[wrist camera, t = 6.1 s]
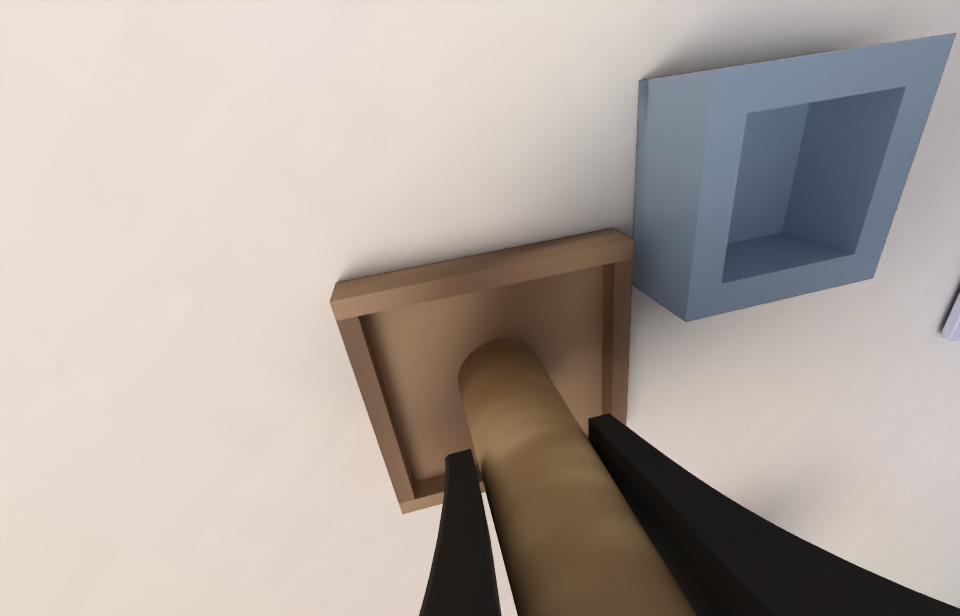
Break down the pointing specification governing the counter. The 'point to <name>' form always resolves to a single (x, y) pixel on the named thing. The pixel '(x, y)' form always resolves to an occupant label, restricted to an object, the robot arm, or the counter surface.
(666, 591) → the oak dowel
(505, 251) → the walnut tray
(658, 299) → the ceramic holder
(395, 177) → the counter surface
